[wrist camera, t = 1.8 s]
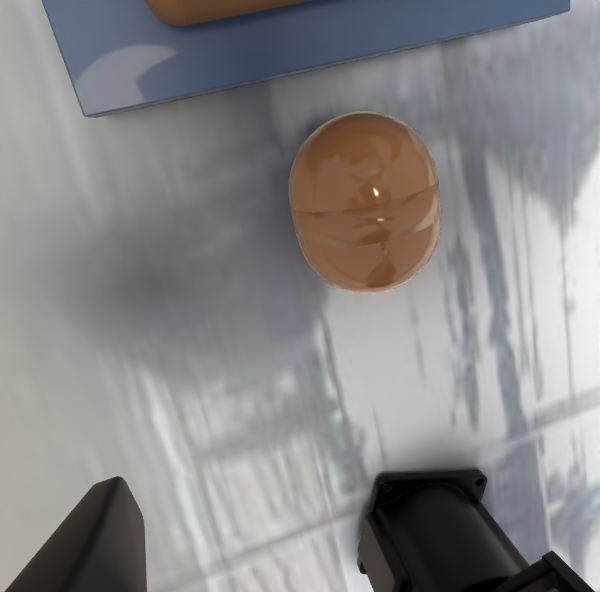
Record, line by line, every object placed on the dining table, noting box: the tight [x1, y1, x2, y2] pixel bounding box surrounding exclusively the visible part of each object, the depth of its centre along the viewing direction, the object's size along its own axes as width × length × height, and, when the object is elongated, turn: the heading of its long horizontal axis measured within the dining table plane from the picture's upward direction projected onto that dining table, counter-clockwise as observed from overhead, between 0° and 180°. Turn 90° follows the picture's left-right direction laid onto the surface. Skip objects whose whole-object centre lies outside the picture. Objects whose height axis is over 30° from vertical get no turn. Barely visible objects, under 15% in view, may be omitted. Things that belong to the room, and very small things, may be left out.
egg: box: [288, 111, 441, 294], centre depth 17 cm, size 5×6×5 cm
